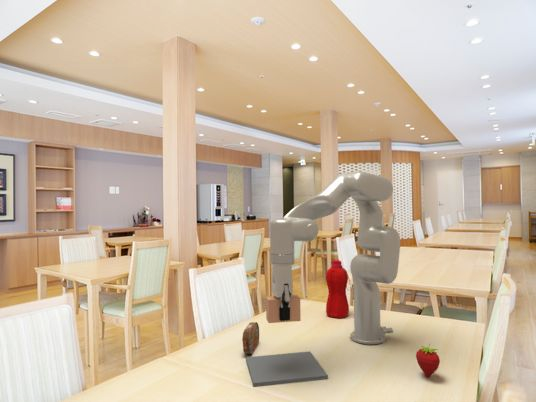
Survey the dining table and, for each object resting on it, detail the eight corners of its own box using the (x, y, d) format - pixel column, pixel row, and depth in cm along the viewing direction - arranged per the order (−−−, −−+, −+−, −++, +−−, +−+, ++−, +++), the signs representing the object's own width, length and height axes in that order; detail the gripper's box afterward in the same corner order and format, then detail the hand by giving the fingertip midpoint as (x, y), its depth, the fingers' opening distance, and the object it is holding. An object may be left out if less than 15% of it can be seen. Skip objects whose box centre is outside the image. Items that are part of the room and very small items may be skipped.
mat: (310, 354, 127) (310, 351, 127) (327, 378, 110) (327, 375, 110) (245, 360, 123) (245, 357, 123) (253, 386, 106) (253, 383, 106)
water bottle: (347, 320, 162) (346, 262, 162) (323, 316, 168) (322, 261, 168) (354, 314, 170) (353, 259, 170) (332, 311, 176) (331, 258, 176)
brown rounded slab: (250, 358, 125) (249, 333, 125) (241, 357, 126) (240, 332, 126) (260, 341, 140) (259, 319, 140) (252, 341, 141) (251, 318, 141)
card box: (266, 319, 118) (266, 296, 118) (297, 317, 119) (297, 295, 119) (268, 323, 114) (268, 300, 114) (300, 320, 115) (300, 298, 115)
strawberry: (428, 369, 114) (428, 337, 114) (445, 381, 107) (444, 346, 107) (411, 372, 113) (410, 339, 113) (427, 384, 106) (426, 348, 106)
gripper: (265, 255, 124) (266, 311, 124) (275, 263, 108) (276, 327, 108) (287, 255, 125) (288, 309, 125) (301, 262, 109) (301, 325, 109)
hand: (283, 317), depth 116 cm, fingers closed on card box, 4 cm apart
